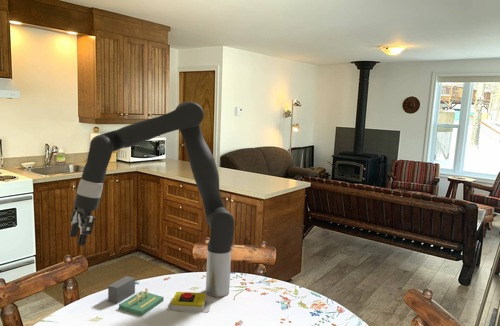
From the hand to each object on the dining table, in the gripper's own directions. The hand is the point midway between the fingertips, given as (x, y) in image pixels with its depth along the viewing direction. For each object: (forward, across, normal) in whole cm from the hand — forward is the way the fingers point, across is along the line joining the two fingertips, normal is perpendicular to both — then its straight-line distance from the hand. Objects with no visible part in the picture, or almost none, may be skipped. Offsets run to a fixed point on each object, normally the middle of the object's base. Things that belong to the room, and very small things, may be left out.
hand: (76, 240), depth 124 cm
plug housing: (+21, -1, -21) cm, 30 cm away
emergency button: (+16, -20, -38) cm, 46 cm away
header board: (+19, -10, -24) cm, 33 cm away
